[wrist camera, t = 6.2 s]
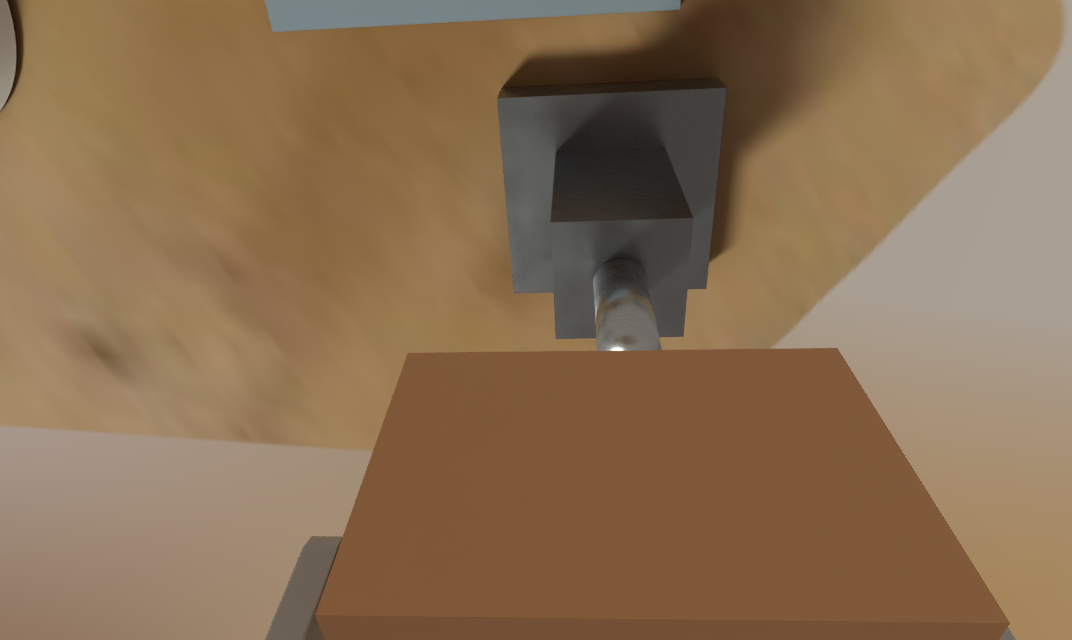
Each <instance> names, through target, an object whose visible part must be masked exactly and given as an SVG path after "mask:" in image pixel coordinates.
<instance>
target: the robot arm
mask: <svg viewBox="0 0 1072 640" xmlns="http://www.w3.org/2000/svg"><path fill="white" fill-rule="evenodd" d="M15 69H16V40H15V32H14V26H13V21H12V17H11V12H10V9H9V5H8V2H7V0H0V110H1V109H2V107H3V106H4V104H5V102H6V100H7V98H8V96H9V94H10V91H11V88H12V85H13V81H14V76H15ZM342 538H343V537H326V536H321V537H319V536H312V537H311V538H310V539H309V541H308V542H307V543H306V544H305V545H304V547H303V549H302V551H301V553H300V556H299V558H298V561H297V563H296V566H295V568H294V570H293V573H292V575H291V577H290V580H289V582H288V585H287V587H286V590H285V592H284V594H283V597H282V599H281V602H280V604H279V607H278V609H277V611H276V614H275V616H274V619H273V621H272V623H271V626H270V628H269V631H268V633H267V635H266V638H265V640H325V639H324V636H323V634H322V631H321V629H320V626H319V624H318V621H317V619H316V616H315V614H316V611H317V608H318V606H319V603H320V600H321V597H322V594H323V591H324V589H325V586H326V583H327V580H328V577H329V575H330V572H331V569H332V566H333V563H334V560H335V558H336V555H337V552H338V549H339V546H340V543H341V541H342ZM999 640H1016V639H1015V637H1014V636H1013V635H1012V633H1011V631H1010V630H1009V628H1008V627H1007V628H1006V630H1005V632H1004V633H1003V635H1002V636H1001V638H1000V639H999Z"/></svg>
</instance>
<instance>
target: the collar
mask: <svg viewBox="0 0 1072 640" xmlns="http://www.w3.org/2000/svg"><path fill="white" fill-rule="evenodd" d="M315 616H316V619H317V621H318V624H319V626H320V629H321V631H322V634H323V636H324V639H325V640H999V639H1000V638H1001V636H1002V635H1003V633H1004V632H1005V630H1006V628H1007V627H1008V625H1009V624H1010V623H1009V621H1008V620H1007V618H1006V616H1005V615H1004V613H1003V611H1002V610H1001V608H1000V607H999V605H998V603H997V602H996V600H995V599H994V597H993V595H992V594H991V592H990V591H989V589H988V588H987V586H986V584H985V583H984V581H983V580H982V578H981V576H980V575H979V573H978V572H977V570H976V569H975V567H974V565H973V564H972V562H971V560H970V559H969V557H968V556H967V554H966V552H965V551H964V549H963V548H962V546H961V544H960V543H959V541H958V540H957V538H956V537H955V535H954V533H953V532H952V530H951V529H950V527H949V525H948V524H947V522H946V521H945V519H944V517H943V516H942V514H941V513H940V511H939V509H938V508H937V506H936V505H935V503H934V502H933V500H932V498H931V497H930V495H929V494H928V492H927V491H926V489H925V487H924V486H923V484H922V482H921V481H920V479H919V478H918V476H917V474H916V473H915V471H914V470H913V468H912V467H911V465H910V463H909V462H908V460H907V459H906V457H905V455H904V454H903V452H902V450H901V449H900V447H899V446H898V444H897V443H896V441H895V439H894V438H893V436H892V435H891V433H890V431H889V430H888V428H887V427H886V425H885V423H884V422H883V420H882V419H881V417H880V416H879V414H878V412H877V411H876V409H875V408H874V406H873V404H872V403H871V401H870V400H869V398H868V396H867V395H866V393H865V392H864V390H863V388H862V387H861V385H860V384H859V382H858V380H857V379H856V377H855V376H854V374H853V372H852V371H851V369H850V368H849V366H848V365H847V363H846V361H845V360H844V358H843V356H842V355H841V353H840V352H839V350H838V349H837V348H815V349H813V348H812V349H723V350H635V351H547V352H459V353H408V354H407V357H406V360H405V363H404V366H403V369H402V371H401V374H400V377H399V380H398V383H397V386H396V388H395V391H394V394H393V397H392V400H391V402H390V405H389V408H388V411H387V414H386V417H385V419H384V422H383V425H382V428H381V431H380V433H379V436H378V439H377V442H376V445H375V448H374V450H373V453H372V456H371V459H370V462H369V465H368V467H367V470H366V473H365V476H364V479H363V482H362V484H361V487H360V490H359V493H358V496H357V498H356V501H355V504H354V507H353V510H352V513H351V515H350V518H349V521H348V524H347V527H346V529H345V532H344V535H343V538H342V541H341V543H340V546H339V549H338V552H337V555H336V558H335V560H334V563H333V566H332V569H331V572H330V575H329V577H328V580H327V583H326V586H325V589H324V591H323V594H322V597H321V600H320V603H319V606H318V608H317V611H316V614H315Z"/></svg>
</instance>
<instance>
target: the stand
mask: <svg viewBox="0 0 1072 640" xmlns="http://www.w3.org/2000/svg"><path fill="white" fill-rule="evenodd" d="M726 92H727V87H726V86H725V85H724V84H723V83H722V82H721V81H720V80H719V78H703V79H682V80H661V81H639V82H618V83H597V84H576V85H554V86H533V87H512V88H501V90H500V93H499V95H498V98H497V102H498V114H499V125H500V137H501V149H502V160H503V172H504V183H505V195H506V207H507V218H508V230H509V241H510V253H511V265H512V276H513V288H514V293H545V292H554V310H555V332H556V339H574V338H596V342H597V351H635V350H661V344H660V339H659V337H683V334H684V323H685V311H686V299H687V289H706V285H707V276H708V266H709V256H710V247H711V237H712V227H713V218H714V208H715V198H716V189H717V179H718V169H719V160H720V150H721V140H722V131H723V121H724V112H725V102H726Z"/></svg>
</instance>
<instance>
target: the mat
mask: <svg viewBox="0 0 1072 640" xmlns="http://www.w3.org/2000/svg"><path fill="white" fill-rule="evenodd" d="M265 3H266V7H267V11H268V15H269V19H270V23H271V27H272V31H273V32H278V31H296V30H315V29H333V28H351V27H369V26H387V25H406V24H424V23H442V22H460V21H479V20H497V19H515V18H533V17H552V16H570V15H588V14H606V13H625V12H643V11H661V10H679V9H680V3H681V0H265Z"/></svg>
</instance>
